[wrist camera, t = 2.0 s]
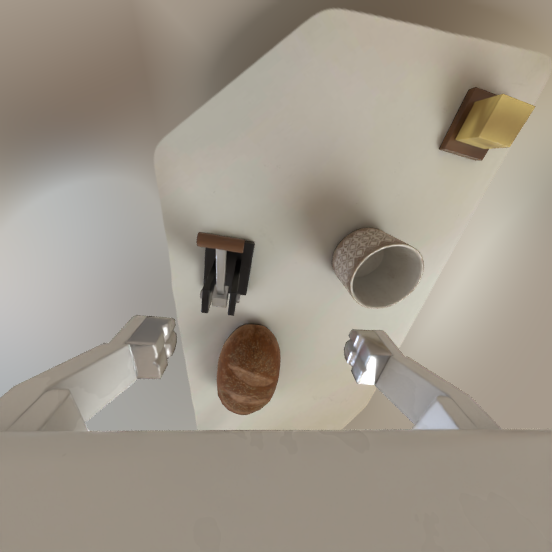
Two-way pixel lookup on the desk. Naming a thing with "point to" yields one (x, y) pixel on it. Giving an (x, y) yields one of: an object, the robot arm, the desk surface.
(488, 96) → the butter
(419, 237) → the desk surface
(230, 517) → the robot arm
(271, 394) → the bread
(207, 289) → the slicer
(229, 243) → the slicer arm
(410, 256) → the planter
